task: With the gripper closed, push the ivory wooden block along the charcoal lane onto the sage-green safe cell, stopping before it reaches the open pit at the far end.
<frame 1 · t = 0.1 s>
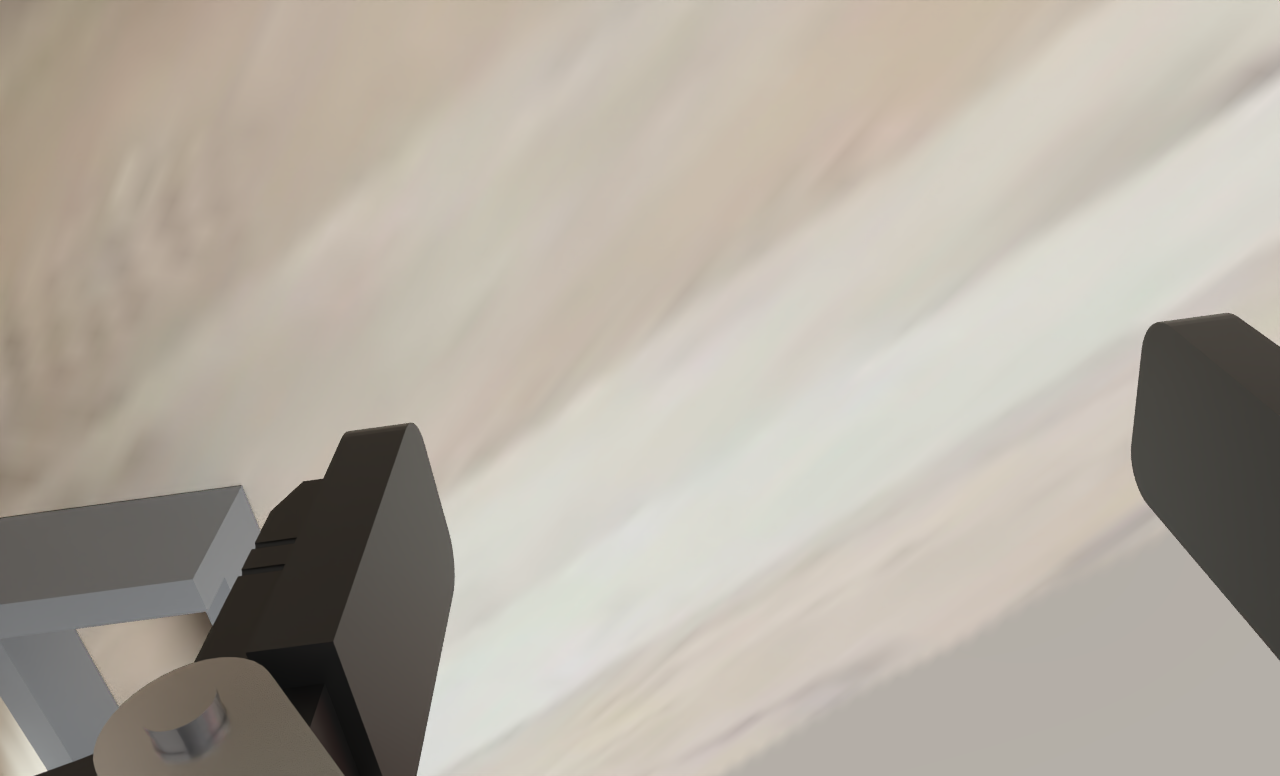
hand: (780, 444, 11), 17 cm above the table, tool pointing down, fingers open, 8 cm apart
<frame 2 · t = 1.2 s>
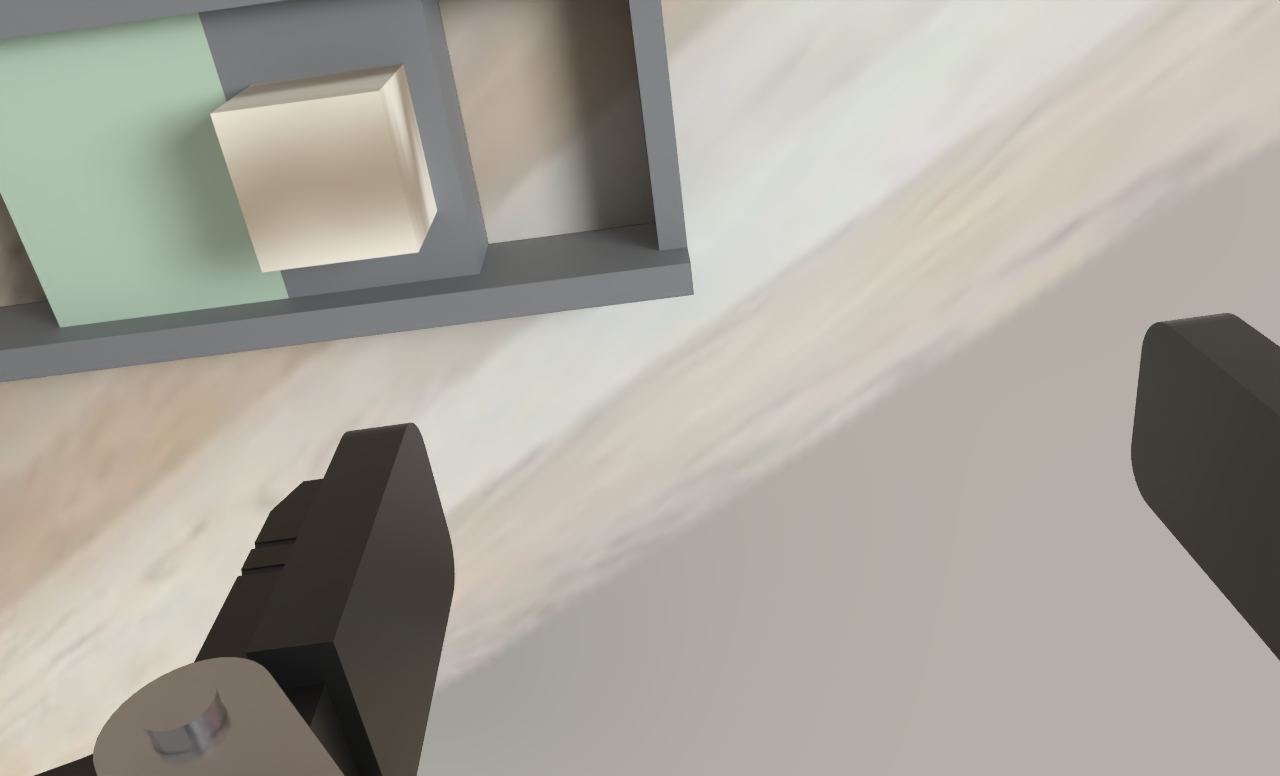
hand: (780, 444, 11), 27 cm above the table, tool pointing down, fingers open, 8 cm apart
block: (347, 149, 34), point 3 cm above the table, touching trap lane
trap lane: (258, 141, 37), on the table
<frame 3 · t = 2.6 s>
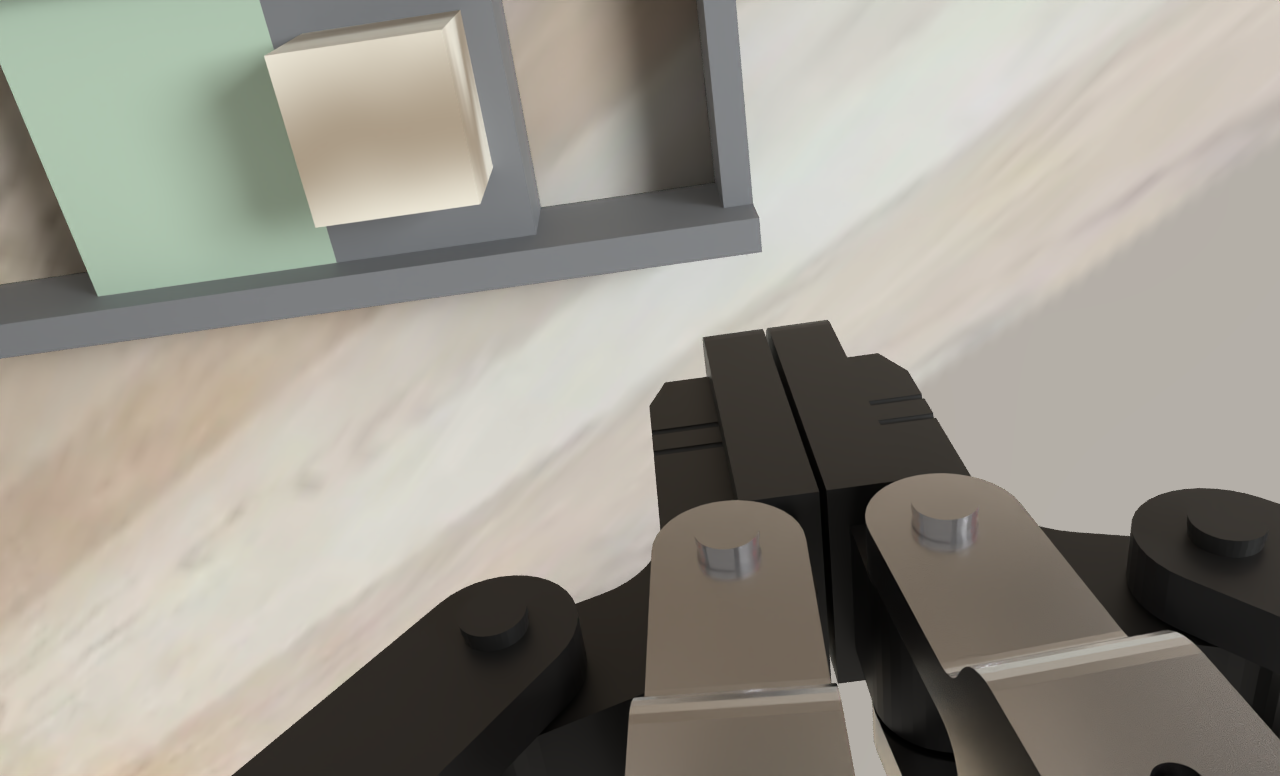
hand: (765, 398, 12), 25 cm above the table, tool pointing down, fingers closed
block: (400, 102, 32), point 3 cm above the table, touching trap lane
trap lane: (303, 100, 35), on the table
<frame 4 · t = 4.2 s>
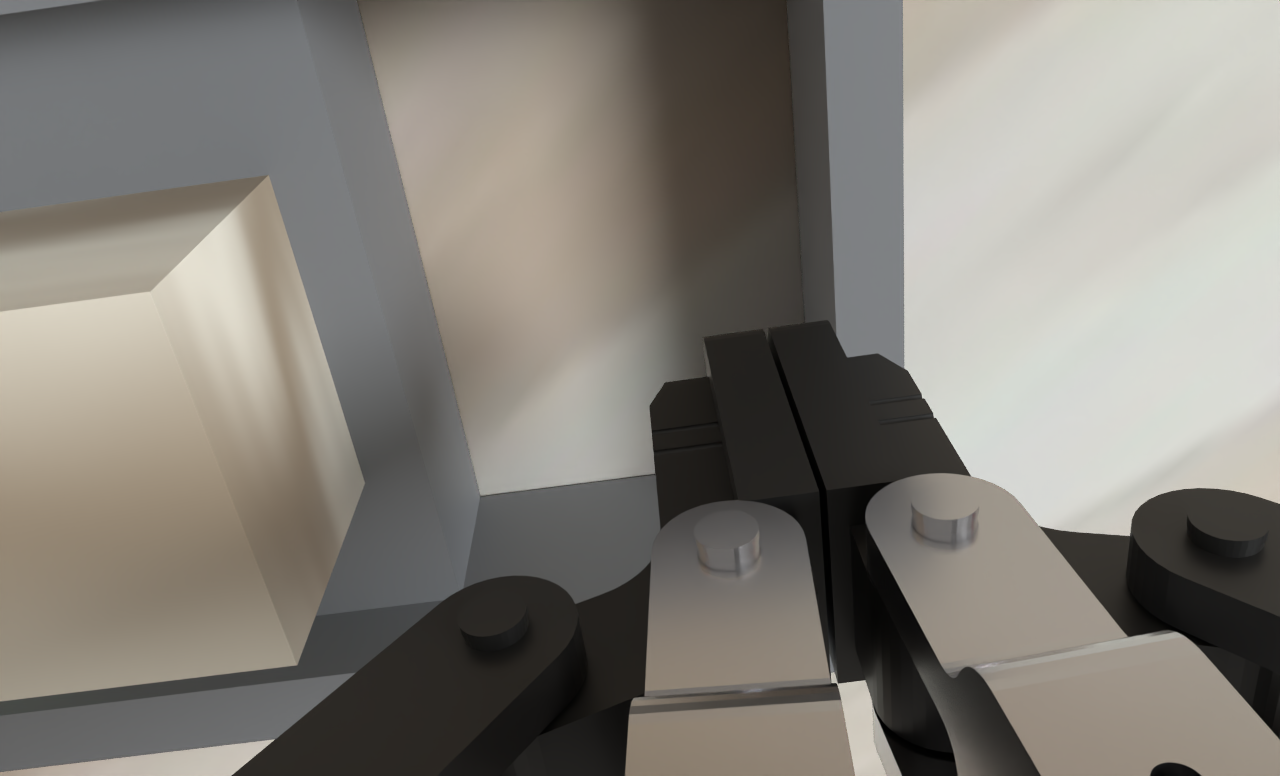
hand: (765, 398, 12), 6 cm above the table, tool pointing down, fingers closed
block: (153, 363, 15), point 3 cm above the table, touching trap lane
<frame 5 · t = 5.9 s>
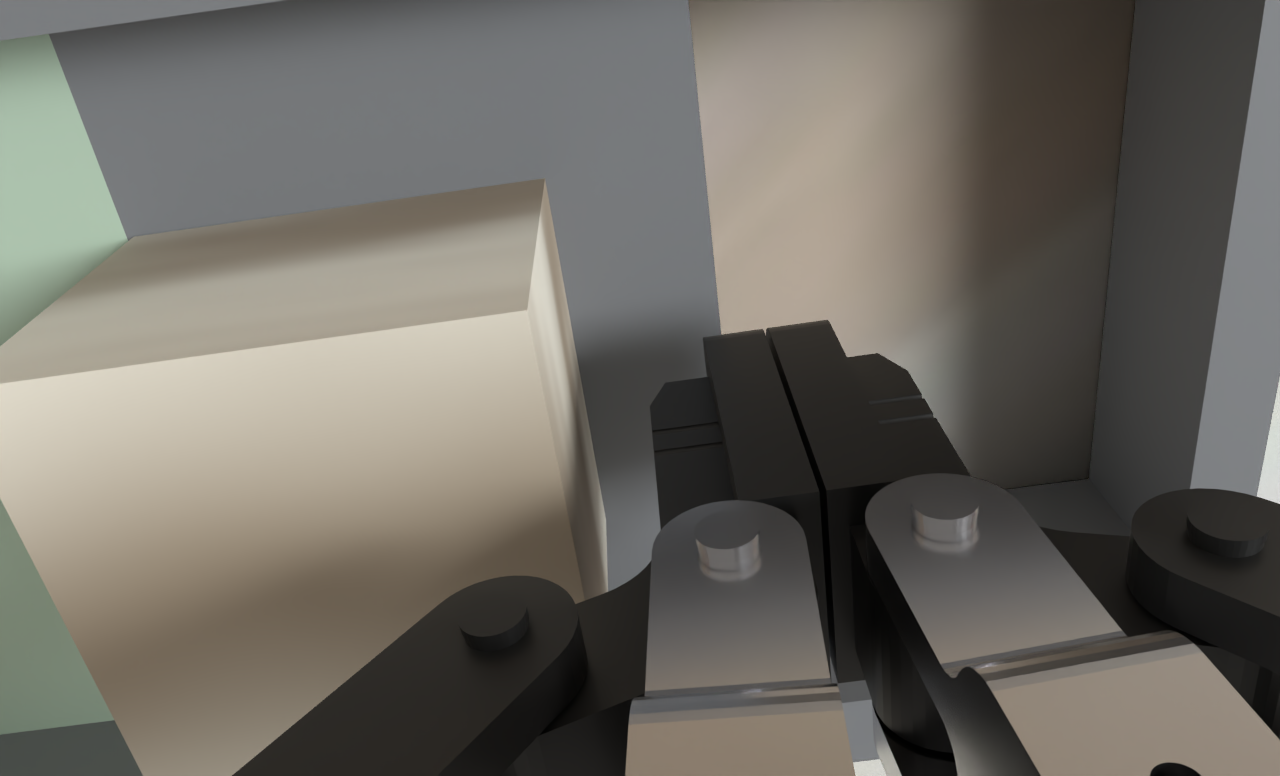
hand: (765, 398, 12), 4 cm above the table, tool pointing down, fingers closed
block: (389, 390, 13), point 3 cm above the table
trap lane: (231, 329, 16), on the table
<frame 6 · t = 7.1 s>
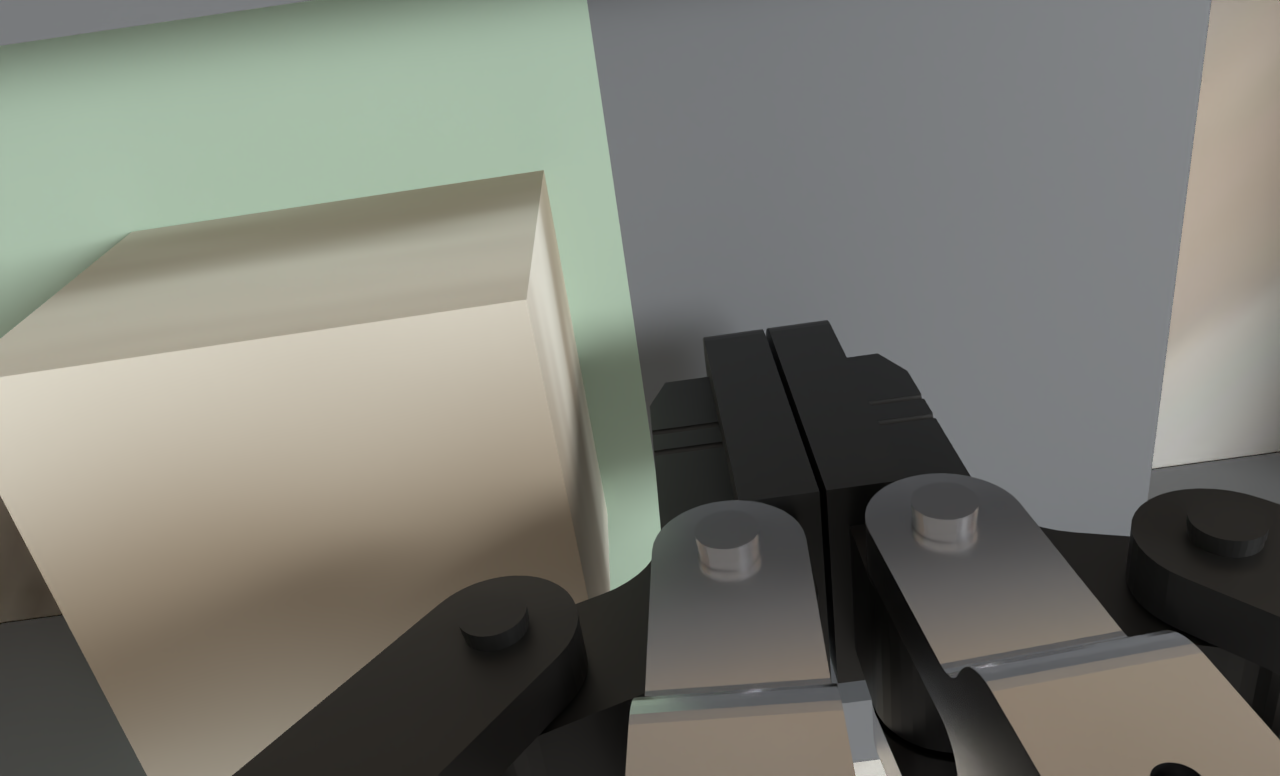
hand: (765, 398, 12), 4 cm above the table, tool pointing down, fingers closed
block: (389, 384, 13), point 3 cm above the table, touching gripper
trap lane: (599, 281, 16), on the table
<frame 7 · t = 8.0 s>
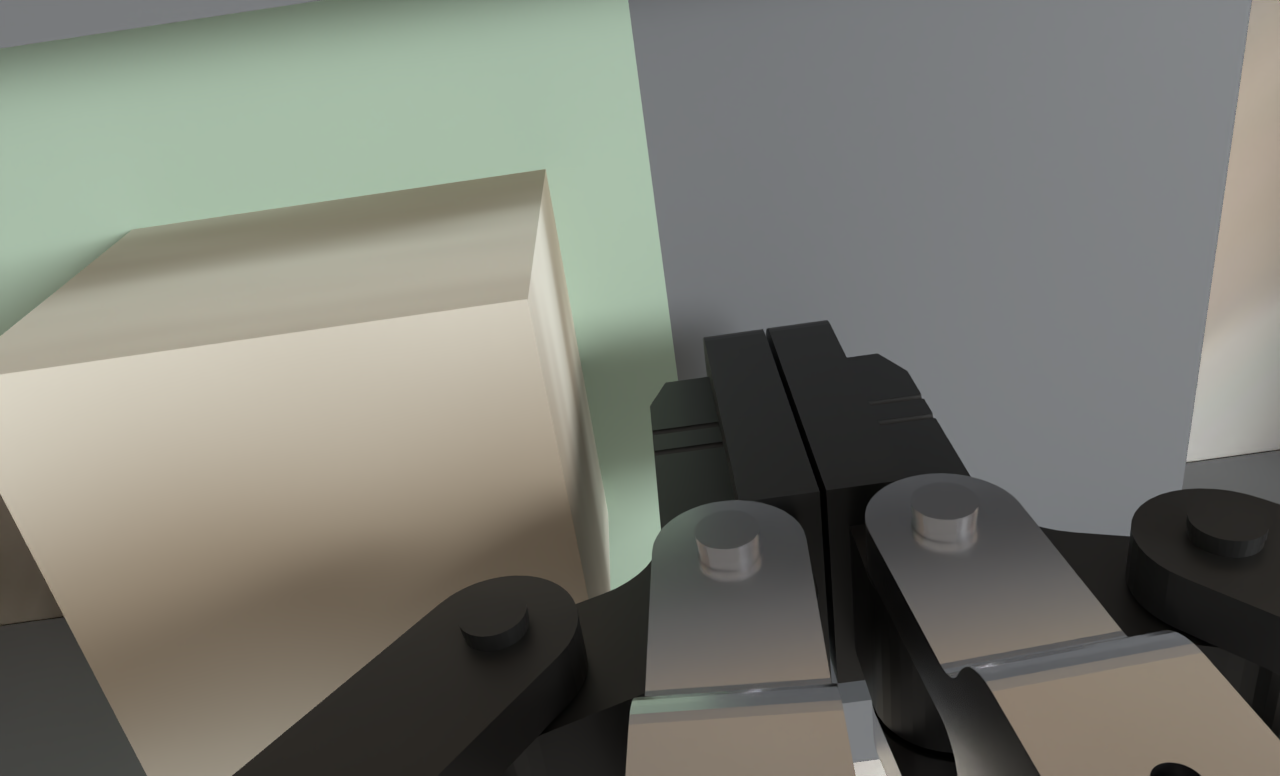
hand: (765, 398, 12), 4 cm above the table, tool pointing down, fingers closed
block: (390, 383, 13), point 3 cm above the table, touching gripper, trap lane
trap lane: (628, 277, 16), on the table
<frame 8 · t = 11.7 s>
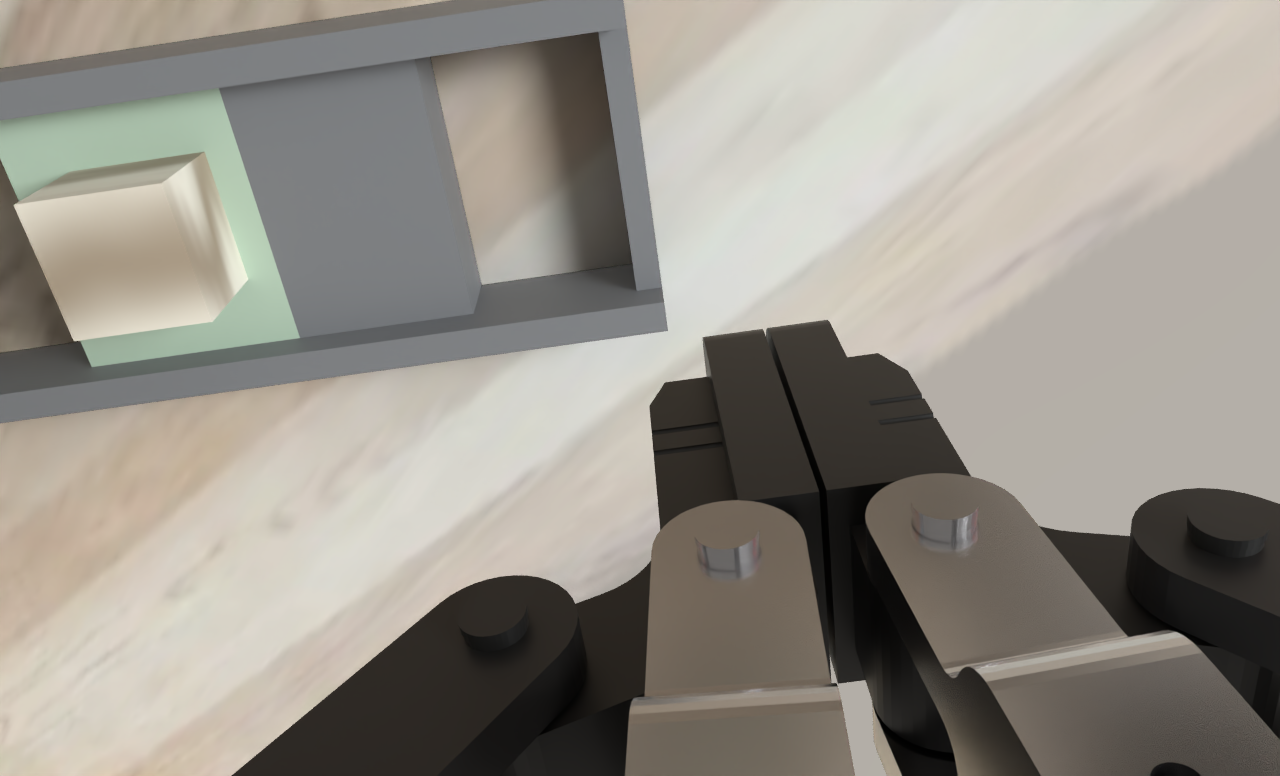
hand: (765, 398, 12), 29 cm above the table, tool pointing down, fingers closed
block: (161, 227, 38), point 3 cm above the table, touching trap lane
trap lane: (271, 196, 40), on the table
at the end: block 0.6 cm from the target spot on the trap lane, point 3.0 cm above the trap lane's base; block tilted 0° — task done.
